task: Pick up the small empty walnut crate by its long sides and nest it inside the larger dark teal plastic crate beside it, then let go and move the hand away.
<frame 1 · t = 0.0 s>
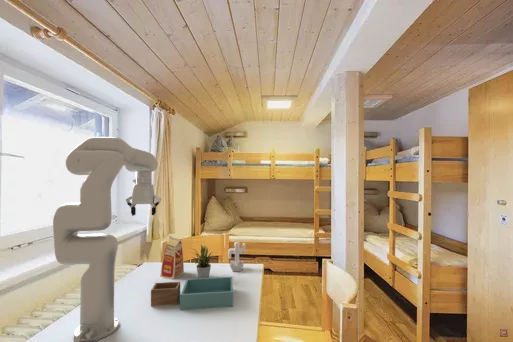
hand: (143, 215, 128), 31 cm above the table, tool pointing down, fingers open, 9 cm apart
teal crate: (208, 299, 104), on the table
walnut crate: (166, 301, 102), on the table
house plant: (201, 277, 126), on the table
figurine: (237, 270, 136), on the table
milk carton: (173, 275, 129), on the table
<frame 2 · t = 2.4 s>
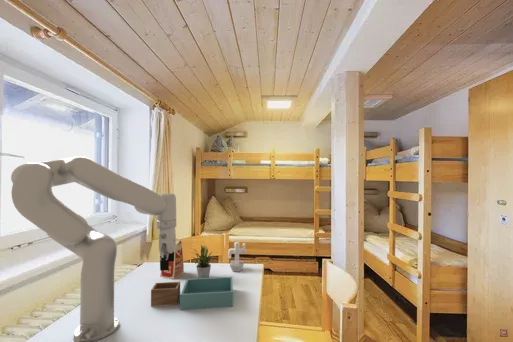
hand: (167, 265, 103), 14 cm above the table, tool pointing down, fingers open, 9 cm apart
nothing on the table moved.
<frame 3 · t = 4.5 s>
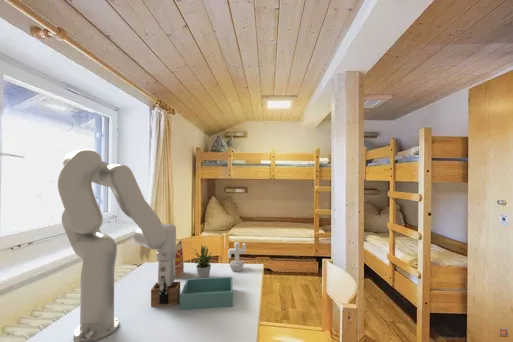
hand: (166, 298, 102), 1 cm above the table, tool pointing down, fingers closed on walnut crate, 6 cm apart
walnut crate: (166, 301, 102), on the table, touching gripper
everything else where it was.
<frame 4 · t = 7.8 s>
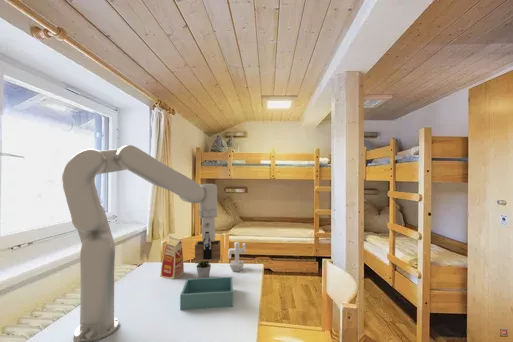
hand: (208, 255, 104), 18 cm above the table, tool pointing down, fingers closed on walnut crate, 6 cm apart
walnut crate: (208, 258, 104), point 17 cm above the table, touching gripper
everything else where it was.
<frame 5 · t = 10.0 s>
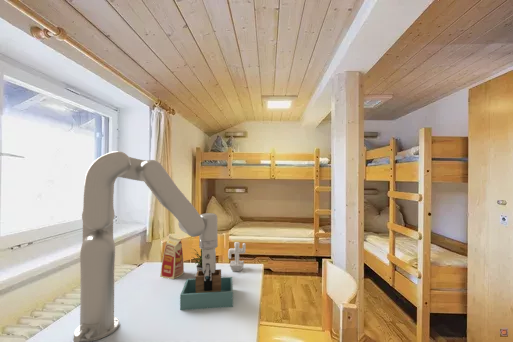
hand: (208, 286, 104), 5 cm above the table, tool pointing down, fingers closed on walnut crate, 6 cm apart
walnut crate: (208, 288, 104), point 4 cm above the table, touching gripper
everything else where it was.
when the fingers open (3 cm above the table, at t = 11.5 s): walnut crate drops 1 cm, resting on teal crate.
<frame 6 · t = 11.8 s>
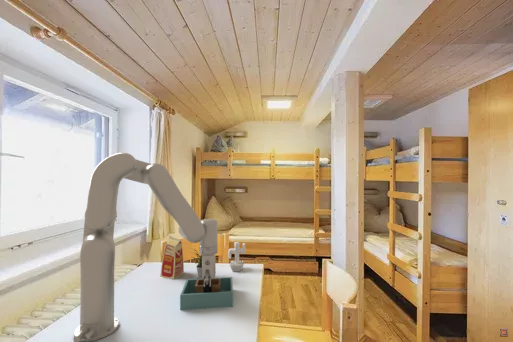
hand: (208, 290, 104), 3 cm above the table, tool pointing down, fingers open, 9 cm apart
teal crate: (208, 299, 104), on the table, touching walnut crate
walnut crate: (208, 297, 104), resting on teal crate
everything else where it was.
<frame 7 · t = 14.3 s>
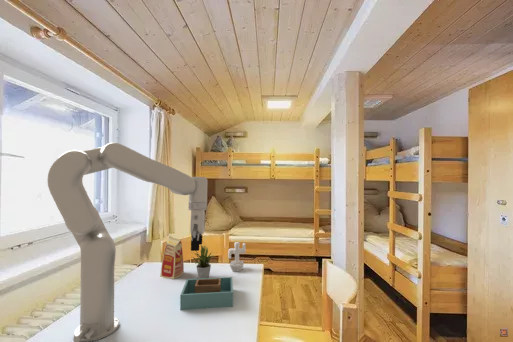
hand: (196, 247, 104), 21 cm above the table, tool pointing down, fingers open, 9 cm apart
nothing on the table moved.
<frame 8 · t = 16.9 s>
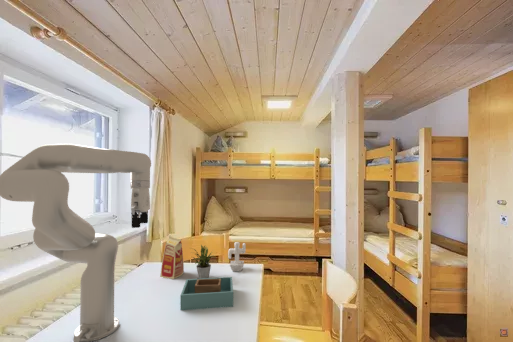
hand: (140, 225, 106), 30 cm above the table, tool pointing down, fingers open, 9 cm apart
nothing on the table moved.
at the end: walnut crate inside the target area on the teal crate (0.1 cm from its centre), point 0.8 cm above the teal crate's base; walnut crate tilted 0°; the gripper is holding nothing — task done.
